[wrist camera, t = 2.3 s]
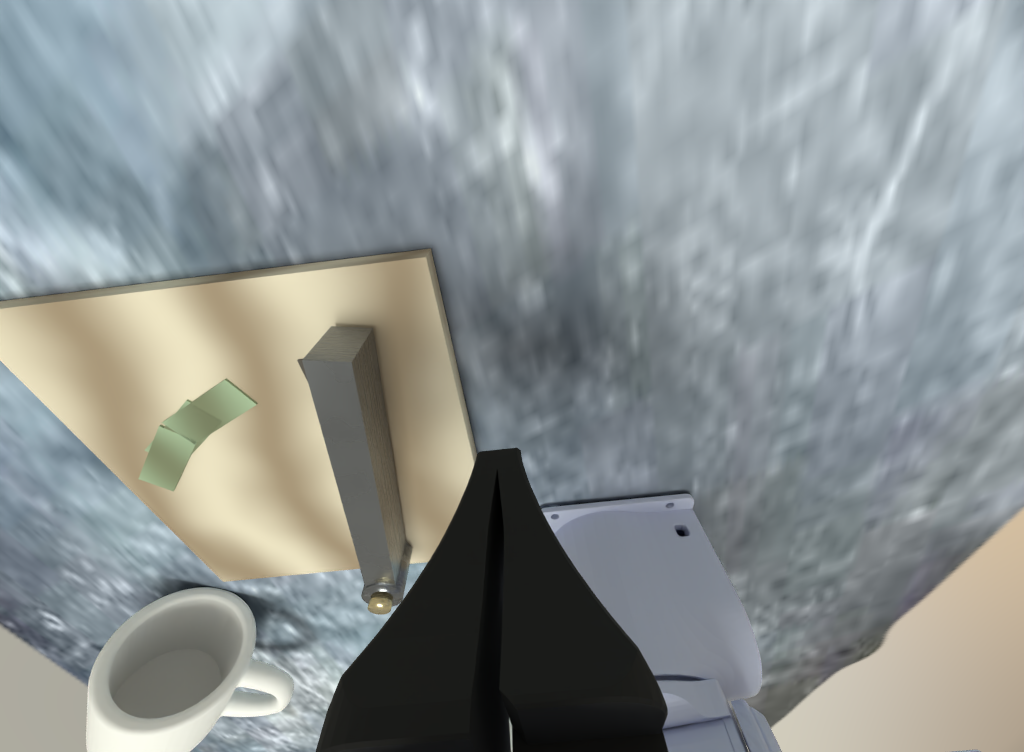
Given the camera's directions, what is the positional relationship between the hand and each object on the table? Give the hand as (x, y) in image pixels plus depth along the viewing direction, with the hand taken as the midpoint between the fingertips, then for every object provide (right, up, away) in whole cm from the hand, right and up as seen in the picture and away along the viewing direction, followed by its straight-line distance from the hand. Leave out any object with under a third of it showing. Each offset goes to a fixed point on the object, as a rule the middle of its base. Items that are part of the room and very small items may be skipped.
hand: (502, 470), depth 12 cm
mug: (-22, -17, +18) cm, 33 cm away
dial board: (-11, -1, +8) cm, 13 cm away
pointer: (-6, -2, +7) cm, 9 cm away
